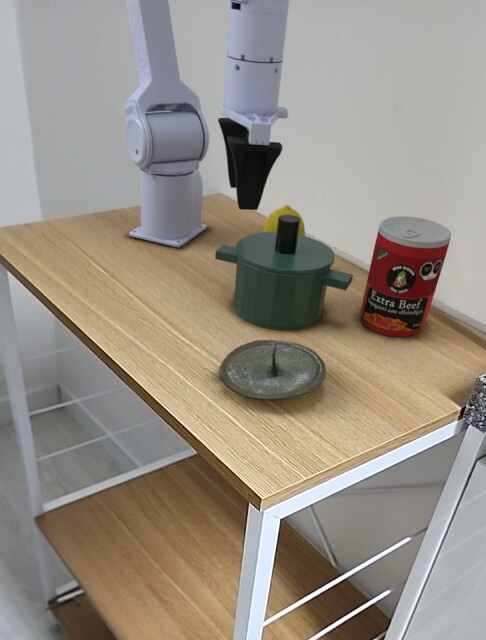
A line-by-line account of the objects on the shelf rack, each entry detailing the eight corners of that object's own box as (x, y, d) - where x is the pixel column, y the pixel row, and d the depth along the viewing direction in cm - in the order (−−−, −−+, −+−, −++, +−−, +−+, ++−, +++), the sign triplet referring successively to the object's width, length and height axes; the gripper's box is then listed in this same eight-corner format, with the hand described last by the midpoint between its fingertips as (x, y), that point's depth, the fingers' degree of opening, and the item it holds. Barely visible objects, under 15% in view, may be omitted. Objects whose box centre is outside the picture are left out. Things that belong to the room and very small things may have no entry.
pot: (233, 278, 82) (237, 227, 78) (352, 308, 78) (363, 256, 74) (198, 310, 74) (200, 255, 70) (328, 344, 70) (339, 289, 66)
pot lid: (252, 234, 78) (256, 195, 75) (342, 252, 76) (349, 213, 73) (221, 266, 70) (223, 224, 67) (320, 288, 67) (327, 245, 64)
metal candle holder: (337, 404, 64) (352, 357, 62) (275, 418, 57) (290, 365, 55) (260, 365, 70) (271, 320, 67) (195, 373, 63) (205, 323, 60)
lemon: (297, 278, 83) (306, 215, 78) (255, 271, 84) (262, 209, 79) (302, 262, 87) (311, 202, 82) (262, 256, 88) (269, 196, 83)
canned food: (352, 329, 74) (373, 232, 66) (366, 302, 79) (386, 210, 72) (419, 344, 72) (448, 247, 65) (427, 315, 78) (455, 224, 71)
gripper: (308, 73, 60) (288, 220, 69) (280, 50, 71) (266, 179, 80) (234, 68, 59) (224, 218, 68) (217, 45, 70) (210, 177, 79)
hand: (243, 197), depth 74 cm, fingers open, 7 cm apart
